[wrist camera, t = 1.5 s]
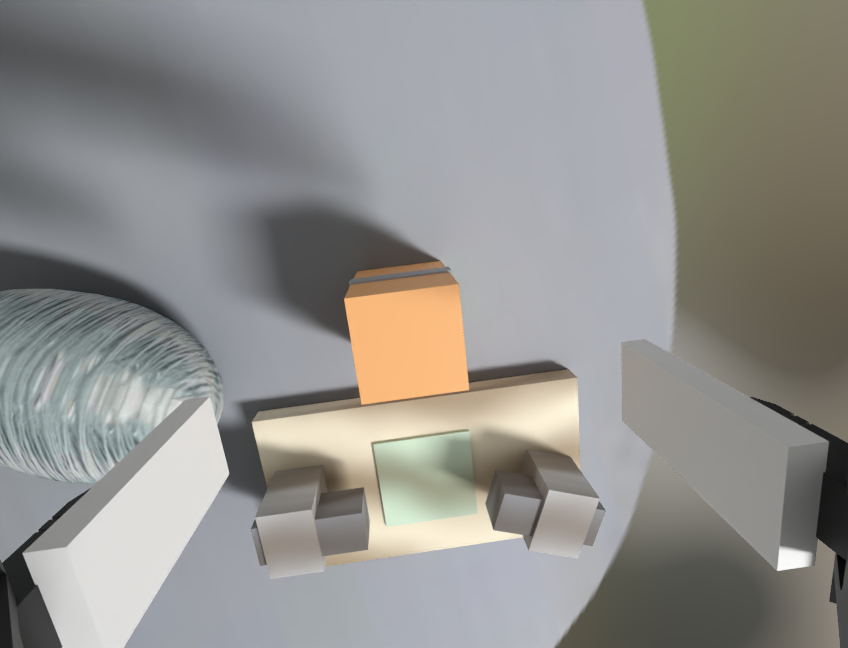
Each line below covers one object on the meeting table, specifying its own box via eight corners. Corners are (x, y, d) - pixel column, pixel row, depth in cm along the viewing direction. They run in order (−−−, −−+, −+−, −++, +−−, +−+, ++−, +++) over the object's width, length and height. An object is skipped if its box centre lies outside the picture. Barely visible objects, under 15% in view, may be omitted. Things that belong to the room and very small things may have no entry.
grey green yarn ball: (-77, 436, 25) (-219, 465, 17) (2, 274, 28) (-85, 223, 19) (191, 483, 31) (192, 523, 22) (239, 344, 33) (258, 329, 24)
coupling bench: (258, 411, 30) (227, 461, 24) (568, 369, 30) (609, 408, 25) (291, 555, 33) (270, 630, 27) (574, 513, 33) (611, 578, 28)
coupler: (355, 269, 28) (341, 296, 20) (441, 258, 28) (460, 281, 20) (368, 352, 29) (359, 407, 22) (450, 341, 30) (471, 391, 22)
